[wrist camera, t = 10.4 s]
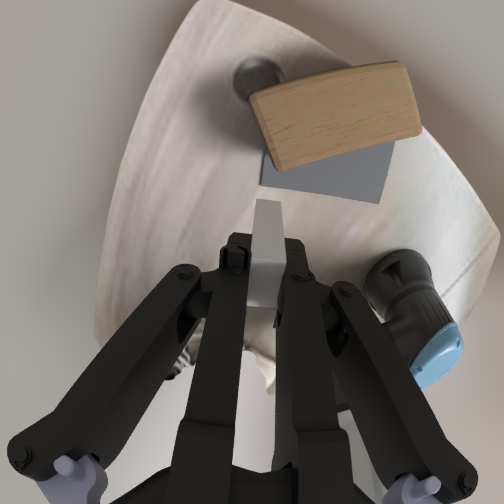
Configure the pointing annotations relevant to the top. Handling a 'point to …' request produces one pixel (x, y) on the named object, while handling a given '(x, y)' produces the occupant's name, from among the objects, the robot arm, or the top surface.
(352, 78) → the block
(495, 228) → the top surface
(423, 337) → the robot arm
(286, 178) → the mat
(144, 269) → the top surface
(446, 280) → the top surface
